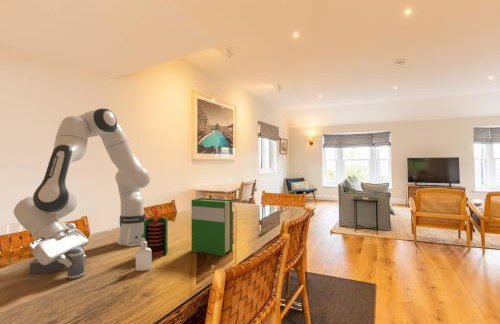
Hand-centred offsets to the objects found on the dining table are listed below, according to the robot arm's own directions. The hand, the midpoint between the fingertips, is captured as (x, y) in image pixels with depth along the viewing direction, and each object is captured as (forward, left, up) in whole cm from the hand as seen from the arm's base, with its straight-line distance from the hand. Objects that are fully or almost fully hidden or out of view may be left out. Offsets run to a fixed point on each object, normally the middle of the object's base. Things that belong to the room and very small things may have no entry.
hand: (77, 261), depth 96 cm
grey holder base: (+12, -14, -5) cm, 19 cm away
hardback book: (-51, -12, -6) cm, 53 cm away
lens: (+1, 0, -5) cm, 5 cm away
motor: (-26, -16, -6) cm, 31 cm away
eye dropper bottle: (-22, +1, -6) cm, 23 cm away
